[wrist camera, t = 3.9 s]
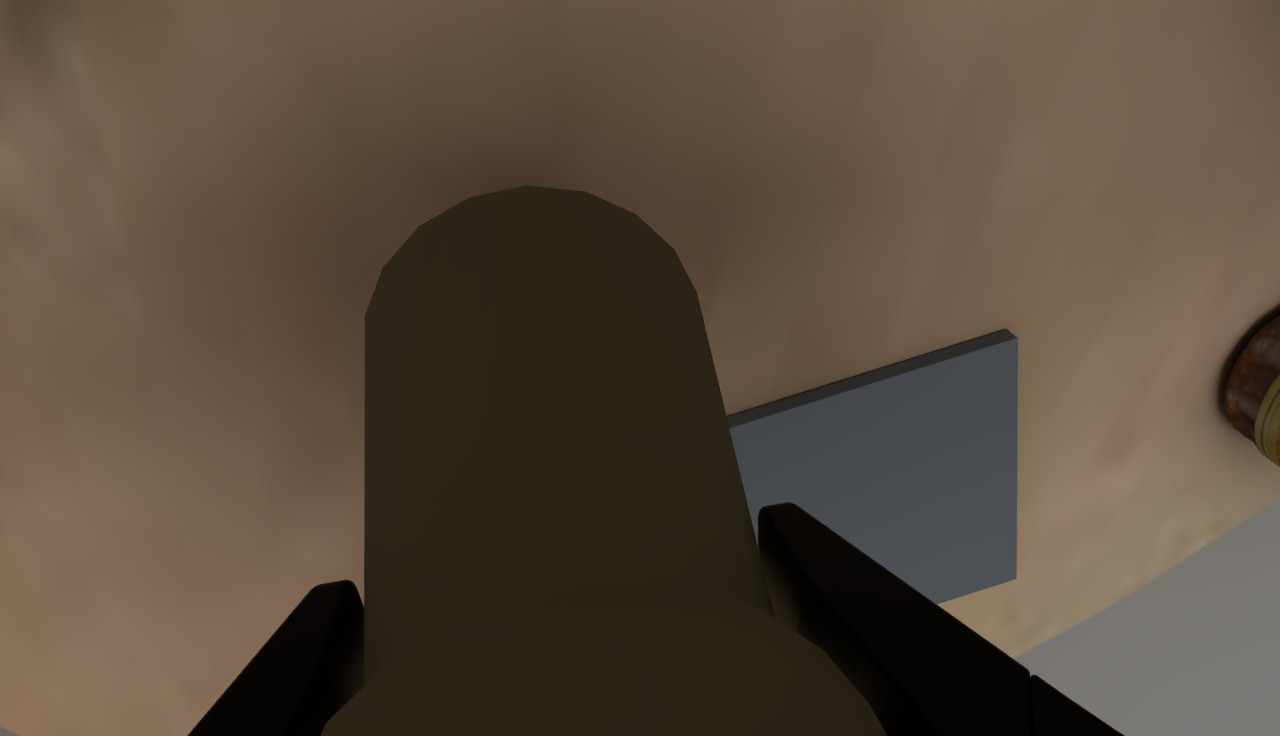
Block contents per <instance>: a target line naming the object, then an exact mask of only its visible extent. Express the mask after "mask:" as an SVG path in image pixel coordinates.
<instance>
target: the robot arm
mask: <svg viewBox="0 0 1280 736" xmlns="http://www.w3.org/2000/svg"><path fill="white" fill-rule="evenodd" d="M758 549H759V553H760V558H761V562H762V566H763V570H764V574H765V578H766V583H767V587H768V591H769V595H770V599H771V603H772V607H773V612H774V616H775V619H777V620H778V621H780V622H781V623H783V624H784V625H786V626H788V627H789V628H791V629H792V630H794V631H795V632H797V633H798V634H800V635H801V636H803V637H804V638H806V639H807V640H809V641H810V642H812V643H813V644H815V645H816V646H818V647H819V648H821V649H822V650H824V652H825V653H826V654H827V655H828V656H829V657H830V659H831V660H832V661H833V662H834V663H835V664H836V666H837V667H838V668H839V669H840V670H841V671H842V673H843V674H844V675H845V676H846V677H847V678H848V679H849V681H850V682H851V683H852V684H853V685H854V686H855V688H856V689H857V690H858V691H859V692H860V693H861V695H862V696H863V697H864V698H865V699H866V700H867V702H868V703H869V704H870V706H871V708H872V710H873V711H874V713H875V715H876V717H877V718H878V720H879V722H880V723H881V725H882V727H883V729H884V730H885V732H886V734H887V736H1124V735H1123V734H1121V733H1120V732H1118V731H1117V730H1115V729H1114V728H1112V727H1111V726H1109V725H1108V724H1106V723H1105V722H1103V721H1102V720H1100V719H1099V718H1097V717H1096V716H1094V715H1093V714H1091V713H1090V712H1089V711H1087V710H1086V709H1084V708H1083V707H1081V706H1080V705H1078V704H1077V703H1075V702H1074V701H1072V700H1071V699H1069V698H1068V697H1067V696H1065V695H1064V694H1062V693H1061V692H1059V691H1058V690H1057V689H1055V688H1054V687H1052V686H1051V685H1050V684H1048V683H1047V682H1045V681H1044V680H1042V679H1041V678H1040V677H1038V676H1037V675H1032V676H1031V677H1030V672H1029V671H1028V669H1027V668H1025V667H1024V666H1022V665H1021V664H1020V663H1018V662H1017V661H1015V660H1014V659H1013V658H1011V657H1010V656H1008V655H1007V654H1006V653H1004V652H1003V651H1001V650H1000V649H999V648H997V647H996V646H994V645H993V644H992V643H990V642H989V641H987V640H986V639H985V638H983V637H982V636H980V635H979V634H977V633H976V632H975V631H973V630H972V629H970V628H969V627H968V626H966V625H965V624H963V623H962V622H961V621H959V620H958V619H956V618H955V617H954V616H952V615H951V614H949V613H948V612H947V611H945V610H944V609H942V608H941V607H940V606H938V605H937V604H935V603H934V602H932V601H931V600H930V599H928V598H927V597H925V596H924V595H923V594H921V593H920V592H918V591H917V590H916V589H914V588H913V587H911V586H910V585H909V584H907V583H906V582H904V581H903V580H902V579H900V578H899V577H897V576H896V575H895V574H893V573H892V572H890V571H889V570H887V569H886V568H885V567H883V566H882V565H880V564H879V563H878V562H876V561H875V560H873V559H872V558H871V557H869V556H868V555H866V554H865V553H864V552H862V551H861V550H859V549H858V548H857V547H855V546H854V545H852V544H851V543H850V542H848V541H847V540H845V539H844V538H843V537H841V536H840V535H838V534H837V533H835V532H834V531H833V530H831V529H830V528H828V527H827V526H826V525H824V524H823V523H821V522H820V521H819V520H817V519H816V518H814V517H813V516H812V515H810V514H809V513H807V512H806V511H805V510H803V509H802V508H800V507H799V506H798V505H796V504H794V503H791V502H785V503H779V504H774V505H768V506H764V507H762V508H761V509H760V510H759V513H758ZM363 687H364V606H363V603H362V601H361V598H360V595H359V593H358V590H357V588H356V586H355V584H354V583H353V582H352V581H349V580H342V581H336V582H330V583H325V584H320V585H317V586H315V587H314V588H312V589H311V590H310V591H309V593H308V594H307V595H306V596H305V597H304V598H303V600H302V601H301V602H300V603H299V604H298V606H297V607H296V608H295V609H294V610H293V611H292V613H291V614H290V615H289V616H288V617H287V619H286V620H285V621H284V622H283V623H282V624H281V626H280V627H279V628H278V629H277V630H276V632H275V633H274V634H273V635H272V636H271V637H270V639H269V640H268V641H267V642H266V643H265V645H264V646H263V647H262V648H261V649H260V650H259V652H258V653H257V654H256V655H255V656H254V658H253V659H252V660H251V661H250V662H249V663H248V665H247V666H246V667H245V668H244V669H243V671H242V672H241V673H240V674H239V675H238V676H237V678H236V679H235V680H234V681H233V682H232V684H231V685H230V686H229V687H228V688H227V689H226V691H225V692H224V693H223V694H222V695H221V697H220V698H219V699H218V700H217V701H216V702H215V704H214V705H213V706H212V707H211V708H210V710H209V711H208V712H207V713H206V714H205V715H204V717H203V718H202V719H201V720H200V721H199V723H198V724H197V725H196V726H195V727H194V728H193V730H192V731H191V732H190V733H189V734H188V736H320V735H321V733H322V731H323V729H324V727H325V725H326V723H327V721H328V720H329V719H330V718H331V717H332V716H334V715H335V714H336V713H337V712H338V711H339V710H340V709H341V708H342V707H343V706H344V705H345V704H346V703H347V702H348V701H349V700H351V699H352V698H353V697H354V696H355V695H356V694H357V693H358V692H359V691H360V690H361V689H362V688H363Z"/></svg>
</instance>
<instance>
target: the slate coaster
mask: <svg viewBox="0 0 1280 736" xmlns="http://www.w3.org/2000/svg"><path fill="white" fill-rule="evenodd" d="M727 421H728V425H729V429H730V433H731V437H732V441H733V446H734V450H735V454H736V458H737V462H738V466H739V470H740V475H741V479H742V483H743V487H744V491H745V495H746V500H747V504H748V508H749V512H750V516H751V520H752V524H753V529H754V533H755V537H756V541H757V545H758V513H759V510H760V509H761V508H762V507H764V506H768V505H774V504H779V503H785V502H791V503H794V504H796V505H798V506H799V507H800V508H802V509H803V510H805V511H806V512H807V513H809V514H810V515H812V516H813V517H814V518H816V519H817V520H819V521H820V522H821V523H823V524H824V525H826V526H827V527H828V528H830V529H831V530H833V531H834V532H835V533H837V534H838V535H840V536H841V537H843V538H844V539H845V540H847V541H848V542H850V543H851V544H852V545H854V546H855V547H857V548H858V549H859V550H861V551H862V552H864V553H865V554H866V555H868V556H869V557H871V558H872V559H873V560H875V561H876V562H878V563H879V564H880V565H882V566H883V567H885V568H886V569H887V570H889V571H890V572H892V573H893V574H895V575H896V576H897V577H899V578H900V579H902V580H903V581H904V582H906V583H907V584H909V585H910V586H911V587H913V588H914V589H916V590H917V591H918V592H920V593H921V594H923V595H924V596H925V597H927V598H928V599H930V600H931V601H932V602H934V603H935V604H939V603H942V602H945V601H949V600H952V599H955V598H958V597H961V596H964V595H967V594H970V593H974V592H977V591H980V590H983V589H986V588H989V587H992V586H995V585H999V584H1002V583H1005V582H1008V581H1011V580H1014V579H1016V554H1017V337H1016V336H1015V335H1013V334H1012V333H1011V332H1009V331H1008V330H1007V329H1005V330H1002V331H999V332H996V333H993V334H989V335H986V336H983V337H980V338H977V339H974V340H970V341H967V342H964V343H961V344H958V345H954V346H951V347H948V348H945V349H942V350H939V351H935V352H932V353H929V354H926V355H923V356H919V357H916V358H913V359H910V360H907V361H903V362H900V363H897V364H894V365H891V366H888V367H884V368H881V369H878V370H875V371H872V372H868V373H865V374H862V375H859V376H856V377H853V378H849V379H846V380H843V381H840V382H837V383H833V384H830V385H827V386H824V387H821V388H818V389H814V390H811V391H808V392H805V393H802V394H798V395H795V396H792V397H789V398H786V399H783V400H779V401H776V402H773V403H770V404H767V405H763V406H760V407H757V408H754V409H751V410H748V411H744V412H741V413H738V414H735V415H732V416H728V417H727Z"/></svg>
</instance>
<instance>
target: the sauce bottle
mask: <svg viewBox="0 0 1280 736" xmlns="http://www.w3.org/2000/svg"><path fill="white" fill-rule="evenodd" d="M1224 395H1225V399H1224V401H1223V405H1224V407H1225V413H1226V417H1227V419H1228V421H1229V422H1231V423H1232V425H1233V426H1234V427H1235V429H1237V430H1238V431H1239V432H1240V433H1241V434H1242V435H1243V436H1244V437H1246V438H1248V439H1249V440H1251V441H1253V442H1254V443H1255V445H1256V446H1257V448H1258V449H1259V450H1260V452H1261V454H1262V455H1264V456H1265V457H1266V458H1268V459H1269V460H1270V461H1272V462H1273V463H1275V464H1276V465H1278V466H1279V467H1280V316H1278V317H1276V318H1275V319H1273V320H1272V321H1271V322H1270V323H1268V324H1267V325H1265V326H1264V327H1263V328H1262V329H1260V330H1259V331H1258V332H1257V333H1256V334H1255V335H1254V337H1253V338H1252V339H1251V340H1250V341H1249V343H1248V345H1247V347H1246V348H1245V349H1243V350H1242V354H1241V355H1240V357H1239V359H1238V360H1237V361H1236V363H1235V364H1234V366H1233V369H1232V372H1231V374H1230V376H1229V379H1228V381H1227V383H1226V387H1225V394H1224Z"/></svg>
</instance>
